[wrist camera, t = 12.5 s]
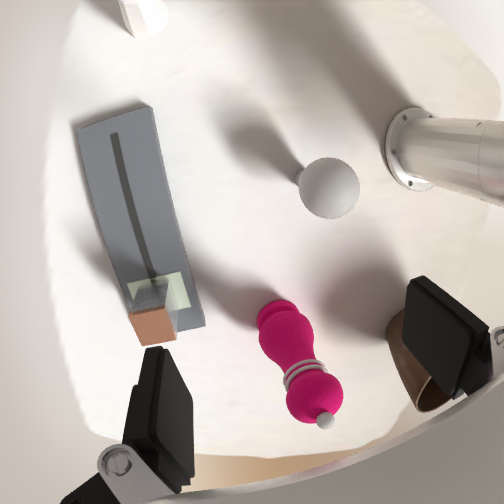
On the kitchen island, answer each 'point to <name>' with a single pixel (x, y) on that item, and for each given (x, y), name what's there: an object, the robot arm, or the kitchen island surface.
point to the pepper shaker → (144, 16)
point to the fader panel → (138, 209)
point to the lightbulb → (328, 187)
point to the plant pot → (413, 371)
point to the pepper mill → (299, 364)
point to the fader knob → (155, 313)
